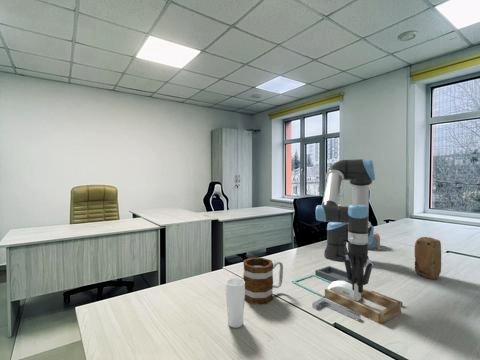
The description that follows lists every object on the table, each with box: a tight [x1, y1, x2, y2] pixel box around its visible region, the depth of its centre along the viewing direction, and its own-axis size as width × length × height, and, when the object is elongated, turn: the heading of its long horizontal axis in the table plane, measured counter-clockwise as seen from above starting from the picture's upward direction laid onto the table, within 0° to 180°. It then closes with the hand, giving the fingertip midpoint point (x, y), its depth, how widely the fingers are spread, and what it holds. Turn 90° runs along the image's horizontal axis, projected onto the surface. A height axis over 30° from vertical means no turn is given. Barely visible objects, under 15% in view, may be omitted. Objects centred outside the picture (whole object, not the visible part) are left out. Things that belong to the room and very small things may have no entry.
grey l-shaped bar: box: [312, 297, 361, 321], centre depth 96 cm, size 16×7×2 cm, turn 39°
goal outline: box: [291, 274, 332, 299], centre depth 120 cm, size 19×16×1 cm
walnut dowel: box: [370, 290, 404, 307], centre depth 106 cm, size 12×2×2 cm
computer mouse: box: [326, 281, 358, 302], centre depth 110 cm, size 6×13×6 cm, turn 61°
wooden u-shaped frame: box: [324, 284, 402, 325], centre depth 102 cm, size 24×14×4 cm, turn 34°
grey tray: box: [314, 265, 352, 284], centre depth 128 cm, size 17×11×3 cm, turn 34°
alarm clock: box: [368, 231, 381, 251], centre depth 187 cm, size 19×20×12 cm
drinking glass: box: [225, 277, 246, 329], centre depth 88 cm, size 7×7×15 cm
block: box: [414, 236, 442, 280], centre depth 132 cm, size 11×8×20 cm
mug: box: [242, 257, 284, 305], centre depth 110 cm, size 20×14×15 cm
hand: (357, 299), depth 104 cm, fingers closed
